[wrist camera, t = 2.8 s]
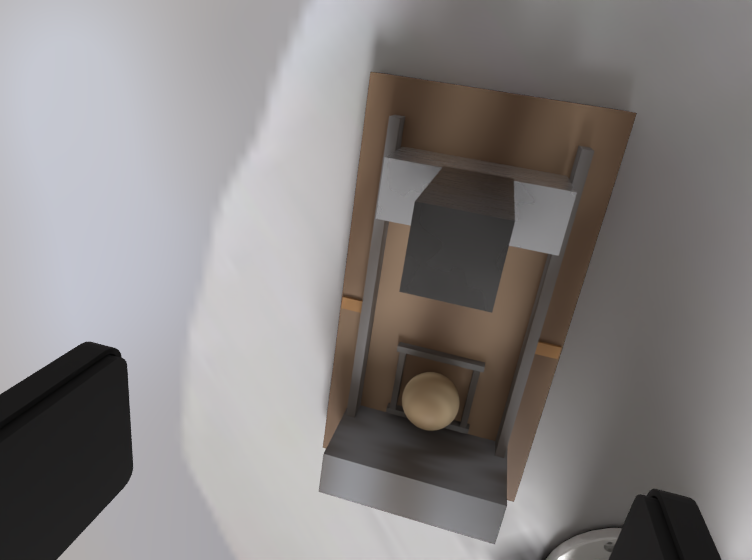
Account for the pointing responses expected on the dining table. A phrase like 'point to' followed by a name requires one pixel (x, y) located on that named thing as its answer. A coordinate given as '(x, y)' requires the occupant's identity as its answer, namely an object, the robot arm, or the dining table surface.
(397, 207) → the jaw
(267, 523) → the dining table surface
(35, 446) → the robot arm
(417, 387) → the beige round ball
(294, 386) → the dining table surface
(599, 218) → the cracker base
